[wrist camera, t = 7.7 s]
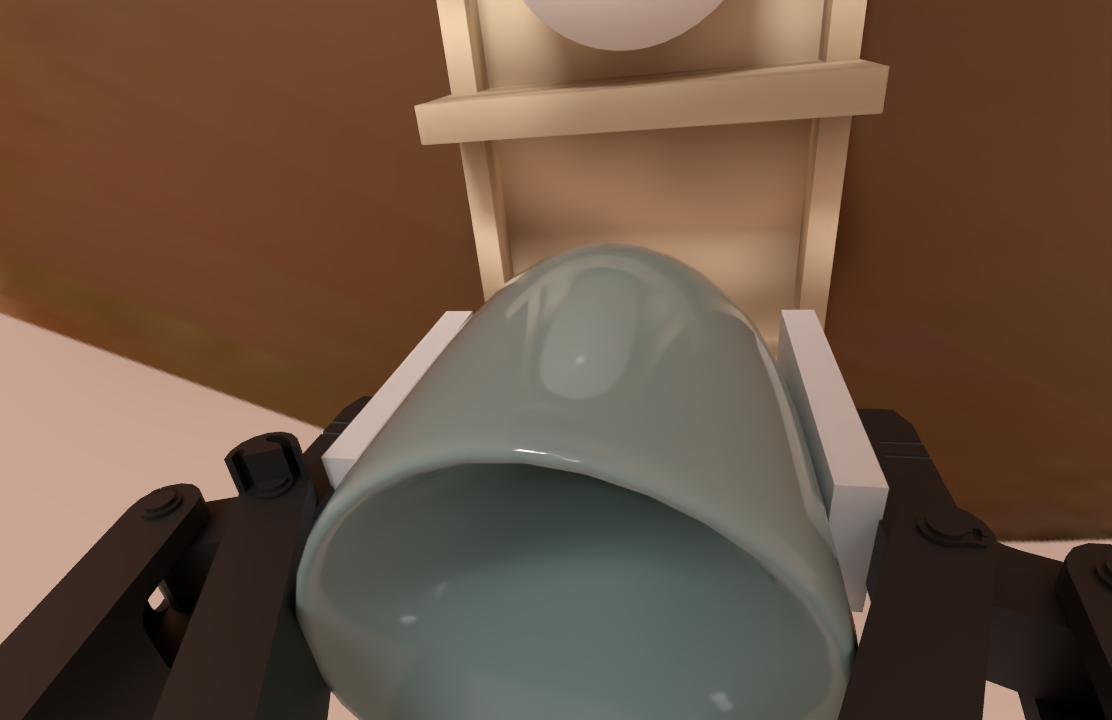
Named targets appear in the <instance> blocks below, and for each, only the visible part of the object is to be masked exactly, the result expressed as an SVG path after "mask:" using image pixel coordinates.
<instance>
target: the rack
mask: <svg viewBox="0 0 1112 720" xmlns="http://www.w3.org/2000/svg"><path fill="white" fill-rule="evenodd" d="M436 1H437V7H438V13H439V19H440V25H441V32H442V38H443V44H444V50H445V56H446V63H447V69H448V75H449V81H450V87H451V94H452V95H449V96H446V97H442V98H439V99H436V100H433V101H429V102H426V103H423V104H420V105H417V106H414V107H415V112H416V117H417V122H418V128H419V133H420V138H421V144H422V145H429V144H444V143H458V142H459V143H460V149H461V155H462V162H463V168H464V174H465V180H466V186H467V193H468V199H469V205H470V211H471V217H472V224H473V230H474V236H475V242H476V248H477V255H478V261H479V267H480V273H481V279H482V285H483V292H484V298H485V302H486V301H487V300H489V299H490V298H491V297H492V296H493V295H494V294H495V293H496V292H497V291H498V290H499V289H500V288H501V287H502V286H503V285H504V284H505V283H507V282H508V281H509V280H511V279H512V278H513V277H515V276H516V275H517V274H519V273H520V272H522V271H524V270H525V269H527V268H528V267H530V266H532V265H533V264H535V263H537V262H538V261H540V260H541V259H543V258H545V257H547V256H549V255H551V254H554V253H557V252H560V251H563V250H565V249H568V248H571V247H574V246H577V245H581V244H592V243H604V242H614V243H622V244H630V245H638V246H643V247H646V248H649V249H652V250H656V251H659V252H662V253H665V254H668V255H671V256H673V257H675V258H677V259H679V260H681V261H682V262H684V263H686V264H688V265H690V266H692V267H694V268H696V269H698V270H700V271H701V272H702V273H704V274H705V275H706V276H708V277H709V278H710V279H712V280H713V281H714V282H716V283H717V284H718V285H720V286H721V287H722V288H724V289H725V290H726V291H727V292H728V294H729V295H730V296H731V297H732V298H733V299H734V300H735V301H736V302H737V303H738V304H739V306H740V307H741V308H742V309H743V310H744V311H745V312H746V313H747V314H748V316H749V317H750V318H751V319H752V320H753V322H754V323H755V325H756V327H757V328H758V330H759V332H760V333H761V335H762V337H763V339H764V340H765V342H766V344H767V345H768V347H769V349H770V350H771V352H772V354H773V356H774V357H775V359H776V361H777V351H778V340H779V329H780V318H781V310H815V313H816V315H817V317H818V320H819V322H820V325H821V327H822V329H823V332H824V326H825V318H826V311H827V303H828V296H829V288H830V280H831V273H832V265H833V257H834V250H835V242H836V234H837V227H838V219H839V212H840V204H841V196H842V189H843V181H844V173H845V166H846V158H847V151H848V143H849V135H850V128H851V120H852V115H866V114H880V113H882V112H883V106H884V99H885V92H886V86H887V79H888V73H889V66H886V65H882V64H878V63H874V62H870V61H866V60H861V59H860V51H861V44H862V36H863V28H864V21H865V13H866V6H867V0H723V1H722V2H721V3H720V4H719V6H718V7H717V8H716V9H715V10H714V11H713V12H711V13H710V14H709V15H708V16H707V17H705V18H704V19H703V20H702V21H701V22H699V23H698V24H697V25H695V26H693V27H692V28H690V29H689V30H687V31H686V32H684V33H683V34H681V35H679V36H677V37H674V38H672V39H670V40H668V41H666V42H663V43H660V44H657V45H654V46H651V47H647V48H642V49H636V50H625V51H612V50H604V49H596V48H593V47H589V46H586V45H582V44H579V43H577V42H575V41H572V40H570V39H568V38H566V37H564V36H562V35H561V34H559V33H558V32H556V31H554V30H553V29H551V28H550V27H549V26H548V25H546V24H545V23H544V22H543V21H542V20H540V19H539V18H538V17H537V16H536V15H535V14H534V13H533V12H532V11H531V10H530V8H529V7H528V6H527V5H526V4H525V3H524V2H523V0H436Z"/></svg>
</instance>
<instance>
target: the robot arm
mask: <svg viewBox="0 0 1112 720" xmlns="http://www.w3.org/2000/svg"><path fill="white" fill-rule="evenodd" d="M472 315H473V311H446V313H445V314H444V315H443V316H442V317H441V318H440V320H439V321H438V322H437V323H436V324H435V325H434V327H433V328H432V329H431V330H430V331H429V332H428V334H427V335H426V336H425V337H424V338H423V339H422V341H421V342H420V343H419V344H418V345H417V346H416V348H415V349H414V350H413V351H412V352H411V353H410V355H409V356H408V357H407V358H406V359H405V360H404V362H403V363H402V364H401V365H400V366H399V367H398V369H397V370H396V371H395V372H394V373H393V374H392V376H391V377H390V378H389V379H388V380H387V381H386V383H385V384H384V385H383V386H382V387H381V388H380V390H379V391H378V392H377V393H376V394H375V395H374V396H373V397H369V396H363V397H361V398H360V399H358V400H356V401H355V402H353V403H352V404H350V405H348V406H347V407H345V408H344V409H343V410H342V411H341V413H340V414H339V415H338V416H337V417H336V418H335V419H334V420H333V423H331V424H330V425H329V426H328V427H327V428H326V429H325V430H324V431H323V434H321V435H320V436H319V437H318V438H317V439H316V440H315V441H314V442H313V443H312V444H311V446H310V447H309V448H308V449H307V450H306V451H305V452H304V453H302V450H301V447H300V444H299V442H298V439H297V438H296V437H295V436H294V435H292V434H291V433H286V432H273V433H266V434H263V435H260V436H256V437H253V438H251V439H249V440H247V441H245V442H242V443H241V444H240V445H238V446H237V447H235V448H234V449H233V450H231V451H230V452H229V454H228V455H227V456H226V458H225V459H224V460H225V463H226V465H227V467H228V469H229V472H230V474H231V476H232V479H233V481H234V483H235V485H236V488H237V490H238V492H239V496H238V497H233V498H227V499H221V500H215V501H209V502H205V500H204V498H203V496H202V494H201V492H200V489H199V488H197V487H196V486H194V485H193V484H176V485H170V486H166V487H162V488H161V489H160V488H159V489H157V490H154V491H152V492H151V493H150V494H148V495H146V496H144V497H143V498H141V499H140V500H138V501H137V502H136V503H135V504H133V505H132V506H131V507H130V508H129V509H128V510H127V511H126V512H125V513H124V514H123V515H122V516H121V517H120V518H119V519H118V520H117V521H116V523H115V524H114V525H113V526H112V527H111V528H110V529H109V530H108V531H107V532H106V533H105V534H104V535H103V536H102V537H101V539H100V540H99V541H98V542H97V543H96V544H95V545H94V546H93V547H92V548H91V549H90V550H89V551H88V553H86V554H85V555H84V557H83V558H82V559H81V560H80V561H79V562H78V563H77V564H76V565H75V566H74V567H73V568H72V569H71V570H70V571H69V572H68V573H67V575H66V576H65V577H64V578H63V579H62V580H61V581H60V582H59V583H58V584H57V585H56V586H55V587H54V588H53V589H52V590H51V592H50V593H49V594H48V595H47V596H46V597H45V598H44V599H43V600H42V601H41V602H40V603H39V604H38V605H37V606H36V608H35V609H34V610H33V611H32V612H31V613H30V614H29V615H28V616H27V617H26V618H25V619H24V620H23V621H22V622H21V624H19V625H18V627H17V628H16V629H15V630H14V631H13V632H12V633H11V634H10V635H9V636H8V637H7V638H6V639H5V640H4V641H3V642H2V644H1V645H0V720H327V717H328V709H329V701H330V693H331V690H330V689H329V688H328V687H327V685H326V684H325V683H324V681H323V678H322V676H321V673H320V671H319V669H318V666H317V664H316V662H315V659H314V657H313V655H312V652H311V650H310V648H309V645H308V643H307V641H306V639H305V637H304V634H303V632H302V630H301V628H300V626H299V623H298V621H297V617H296V581H297V570H298V567H299V564H300V561H301V557H302V554H303V551H304V548H305V545H306V542H307V539H308V537H309V534H310V532H311V530H312V528H313V525H314V523H315V521H316V520H317V518H318V516H319V515H320V513H321V512H322V510H323V508H324V507H325V505H326V504H327V502H328V501H329V499H330V497H331V496H332V494H333V493H334V491H335V490H336V488H337V487H338V485H339V484H340V482H341V481H342V479H343V478H344V476H345V475H346V473H347V472H348V470H349V469H350V467H351V466H352V464H353V463H354V462H355V460H356V459H357V457H358V456H359V455H360V453H361V452H362V450H363V449H364V448H365V446H366V445H367V444H368V442H369V441H370V440H371V438H372V437H373V436H374V434H375V433H376V432H377V430H378V429H379V428H380V426H381V425H382V424H383V423H384V421H385V420H386V419H387V417H388V416H389V415H390V413H391V412H392V411H393V410H394V408H395V407H396V406H397V404H398V403H399V402H400V401H401V399H402V398H403V397H404V395H405V394H406V393H407V392H408V390H409V389H410V388H411V387H412V385H413V384H414V383H415V381H416V380H417V379H418V378H419V376H420V375H421V374H422V373H423V371H424V370H425V369H426V368H427V366H428V365H429V364H430V363H431V361H432V360H433V359H434V358H435V356H436V355H437V354H438V353H439V352H440V350H441V349H442V348H443V347H444V346H445V345H446V343H447V342H448V341H449V340H450V339H451V337H452V336H453V335H454V334H455V333H456V332H457V331H458V330H459V329H460V328H461V326H462V325H463V324H464V323H465V322H466V321H467V320H468V319H469V318H470V317H471V316H472ZM777 362H778V365H779V367H780V369H781V371H782V373H783V376H784V378H785V380H786V382H787V385H788V388H789V390H790V393H791V396H792V398H793V401H794V404H795V407H796V410H797V413H798V416H799V419H800V422H801V425H802V429H803V432H804V435H805V439H806V442H807V446H808V449H809V453H810V456H811V460H812V463H813V467H814V470H815V474H816V478H817V481H818V485H819V489H820V492H821V496H822V500H823V503H824V507H825V511H826V514H827V518H828V522H829V525H830V529H831V533H832V537H833V540H834V544H835V548H836V551H837V555H838V559H839V563H840V566H841V570H842V574H843V578H844V582H845V586H846V590H847V594H848V598H849V602H850V607H851V611H855V612H862V611H863V607H864V601H865V597H866V593H867V591H868V594H869V597H870V600H871V605H870V608H869V612H868V616H867V619H866V622H865V626H864V629H863V633H862V636H861V640H860V643H859V647H858V650H857V654H856V657H855V661H854V664H853V668H852V671H851V675H850V678H849V682H848V685H847V689H846V692H845V696H844V699H843V703H842V706H841V710H840V713H839V717H838V720H982V717H983V705H984V693H985V683H986V680H987V681H990V682H993V683H995V684H998V685H1000V686H1003V687H1006V688H1009V689H1011V690H1014V691H1017V692H1018V694H1019V698H1020V701H1021V705H1022V708H1023V712H1024V715H1025V719H1026V720H1112V545H1111V544H1095V543H1088V544H1084V545H1080V546H1077V547H1074V548H1073V549H1072V550H1071V551H1070V552H1069V553H1068V555H1067V556H1066V558H1065V560H1064V562H1061V561H1057V560H1054V559H1050V558H1046V557H1042V556H1038V555H1035V554H1031V553H1027V552H1024V551H1020V550H1017V549H1014V548H1011V547H1009V546H1005V545H1003V544H1001V543H999V542H997V541H996V539H995V535H994V534H993V532H992V531H991V530H990V529H989V528H988V527H987V525H986V524H985V523H984V522H983V521H981V520H980V519H978V518H977V517H975V516H974V515H972V514H971V513H969V512H967V511H965V510H962V509H959V508H957V506H956V504H955V502H954V500H953V499H952V497H951V495H950V493H949V491H948V489H947V488H946V486H945V484H944V482H943V480H942V478H941V477H940V475H939V473H938V471H937V469H936V467H935V466H934V464H933V462H932V460H931V459H929V455H928V453H927V451H926V449H925V447H924V445H922V442H921V440H920V438H919V436H918V434H917V432H916V431H915V429H914V427H913V425H912V424H911V423H909V422H908V421H907V420H905V419H904V418H903V417H902V416H900V415H899V414H898V413H896V412H895V411H894V410H880V409H856V408H855V406H854V403H853V401H852V398H851V396H850V394H849V391H848V389H847V387H846V384H845V382H844V379H843V377H842V375H841V372H840V370H839V368H838V365H837V363H836V360H835V358H834V356H833V353H832V351H831V348H830V346H829V344H828V341H827V339H826V337H825V334H824V332H823V329H822V327H821V325H820V322H819V320H818V317H817V315H816V313H815V310H781V318H780V329H779V340H778V351H777ZM157 587H159V589H160V591H161V593H162V594H163V596H164V598H165V599H164V600H163V601H162V603H161V604H160V606H158V607H157V608H156V609H155V610H154V609H152V608H151V606H150V604H149V602H148V599H149V597H150V596H151V594H152V593H153V592H154V591H155V589H156V588H157Z"/></svg>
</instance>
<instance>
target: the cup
mask: <svg viewBox="0 0 1112 720" xmlns="http://www.w3.org/2000/svg"><path fill="white" fill-rule="evenodd" d="M296 617H297V621H298V623H299V626H300V628H301V630H302V632H303V634H304V637H305V639H306V641H307V643H308V645H309V648H310V650H311V652H312V655H313V657H314V659H315V662H316V664H317V666H318V669H319V671H320V673H321V676H322V678H323V681H324V683H325V684H326V685H327V687H328V688H329V689H330V690H331V691H332V693H333V694H334V695H335V696H336V698H337V699H338V700H339V701H340V702H341V704H342V705H343V706H344V707H346V708H347V709H348V710H349V711H350V712H351V713H352V714H353V715H354V716H356V717H357V718H358V719H359V720H838V717H839V713H840V710H841V706H842V703H843V699H844V696H845V692H846V689H847V685H848V682H849V678H850V675H851V671H852V668H853V664H854V661H855V657H856V654H857V650H858V642H857V635H856V629H855V624H854V620H853V616H852V611H851V607H850V602H849V598H848V594H847V590H846V586H845V582H844V578H843V574H842V570H841V566H840V563H839V559H838V555H837V551H836V548H835V544H834V540H833V537H832V533H831V529H830V525H829V522H828V518H827V514H826V511H825V507H824V503H823V500H822V496H821V492H820V489H819V485H818V481H817V478H816V474H815V470H814V467H813V463H812V460H811V456H810V453H809V449H808V446H807V442H806V439H805V435H804V432H803V429H802V425H801V422H800V419H799V416H798V413H797V410H796V407H795V404H794V401H793V398H792V396H791V393H790V390H789V388H788V385H787V382H786V380H785V378H784V376H783V373H782V371H781V369H780V367H779V365H778V362H777V361H776V359H775V357H774V356H773V354H772V352H771V350H770V349H769V347H768V345H767V344H766V342H765V340H764V339H763V337H762V335H761V333H760V332H759V330H758V328H757V327H756V325H755V323H754V322H753V320H752V319H751V318H750V317H749V316H748V314H747V313H746V312H745V311H744V310H743V309H742V308H741V307H740V306H739V304H738V303H737V302H736V301H735V300H734V299H733V298H732V297H731V296H730V295H729V294H728V292H727V291H726V290H725V289H724V288H722V287H721V286H720V285H718V284H717V283H716V282H714V281H713V280H712V279H710V278H709V277H708V276H706V275H705V274H704V273H702V272H701V271H700V270H698V269H696V268H694V267H692V266H690V265H688V264H686V263H684V262H682V261H681V260H679V259H677V258H675V257H673V256H671V255H668V254H665V253H662V252H659V251H656V250H652V249H649V248H646V247H643V246H638V245H630V244H622V243H614V242H604V243H592V244H581V245H577V246H574V247H571V248H568V249H565V250H563V251H560V252H557V253H554V254H551V255H549V256H547V257H545V258H543V259H541V260H540V261H538V262H537V263H535V264H533V265H532V266H530V267H528V268H527V269H525V270H524V271H522V272H520V273H519V274H517V275H516V276H515V277H513V278H512V279H511V280H509V281H508V282H507V283H505V284H504V285H503V286H502V287H501V288H500V289H499V290H498V291H497V292H496V293H495V294H494V295H493V296H492V297H491V298H490V299H489V300H487V301H486V302H485V303H484V304H483V305H482V306H481V307H480V308H479V309H478V310H477V311H476V312H475V313H474V314H473V315H472V316H471V317H470V318H469V319H468V320H467V321H466V322H465V323H464V324H463V325H462V326H461V328H460V329H459V330H458V331H457V332H456V333H455V334H454V335H453V336H452V337H451V339H450V340H449V341H448V342H447V343H446V345H445V346H444V347H443V348H442V349H441V350H440V352H439V353H438V354H437V355H436V356H435V358H434V359H433V360H432V361H431V363H430V364H429V365H428V366H427V368H426V369H425V370H424V371H423V373H422V374H421V375H420V376H419V378H418V379H417V380H416V381H415V383H414V384H413V385H412V387H411V388H410V389H409V390H408V392H407V393H406V394H405V395H404V397H403V398H402V399H401V401H400V402H399V403H398V404H397V406H396V407H395V408H394V410H393V411H392V412H391V413H390V415H389V416H388V417H387V419H386V420H385V421H384V423H383V424H382V425H381V426H380V428H379V429H378V430H377V432H376V433H375V434H374V436H373V437H372V438H371V440H370V441H369V442H368V444H367V445H366V446H365V448H364V449H363V450H362V452H361V453H360V455H359V456H358V457H357V459H356V460H355V462H354V463H353V464H352V466H351V467H350V469H349V470H348V472H347V473H346V475H345V476H344V478H343V479H342V481H341V482H340V484H339V485H338V487H337V488H336V490H335V491H334V493H333V494H332V496H331V497H330V499H329V501H328V502H327V504H326V505H325V507H324V508H323V510H322V512H321V513H320V515H319V516H318V518H317V520H316V521H315V523H314V525H313V528H312V530H311V532H310V534H309V537H308V539H307V542H306V545H305V548H304V551H303V554H302V557H301V561H300V564H299V567H298V570H297V581H296Z"/></svg>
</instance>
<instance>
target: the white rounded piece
mask: <svg viewBox="0 0 1112 720" xmlns="http://www.w3.org/2000/svg"><path fill="white" fill-rule="evenodd" d="M722 1H723V0H523V2H524V3H525V4H526V5H527V6H528V7H529V8H530V10H531V11H532V12H533V13H534V14H535V15H536V16H537V17H538V18H539V19H540V20H542V21H543V22H544V23H545V24H546V25H548V26H549V27H550V28H551V29H553V30H554V31H556V32H558V33H559V34H561V35H562V36H564V37H566V38H568V39H570V40H572V41H575V42H577V43H579V44H582V45H586V46H589V47H593V48H596V49H604V50H612V51H625V50H636V49H642V48H647V47H651V46H654V45H657V44H660V43H663V42H666V41H668V40H670V39H672V38H674V37H677V36H679V35H681V34H683V33H684V32H686V31H687V30H689V29H690V28H692V27H693V26H695V25H697V24H698V23H699V22H701V21H702V20H703V19H704V18H705V17H707V16H708V15H709V14H710V13H711V12H713V11H714V10H715V9H716V8H717V7H718V6H719V4H720V3H721V2H722Z"/></svg>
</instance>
